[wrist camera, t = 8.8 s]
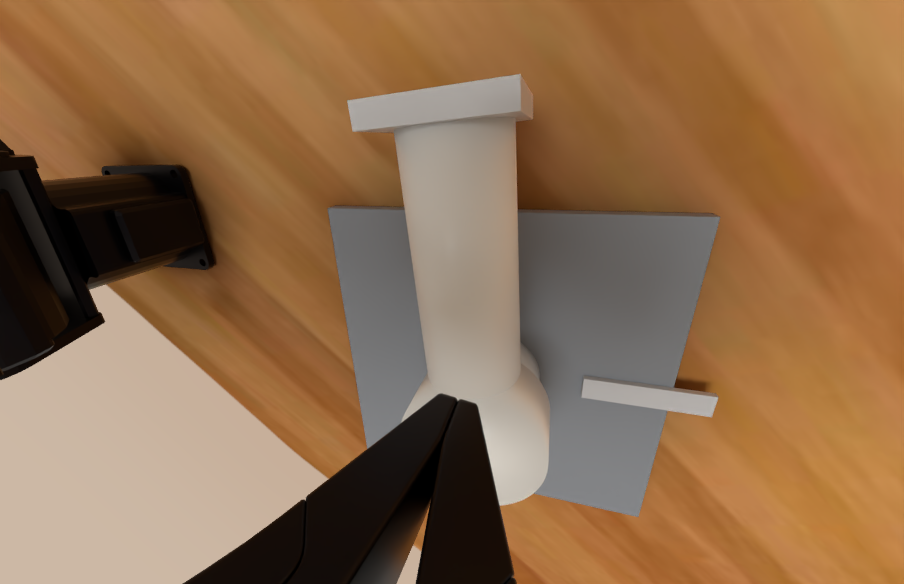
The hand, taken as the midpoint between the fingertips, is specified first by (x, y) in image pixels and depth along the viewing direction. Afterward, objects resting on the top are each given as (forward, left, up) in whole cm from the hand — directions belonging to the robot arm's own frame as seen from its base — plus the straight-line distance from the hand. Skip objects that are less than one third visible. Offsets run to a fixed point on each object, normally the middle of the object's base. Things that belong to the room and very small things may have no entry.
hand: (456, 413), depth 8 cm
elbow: (-1, -2, -9) cm, 9 cm away
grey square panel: (0, -6, -12) cm, 13 cm away
